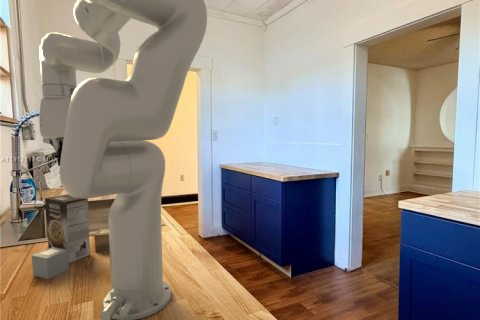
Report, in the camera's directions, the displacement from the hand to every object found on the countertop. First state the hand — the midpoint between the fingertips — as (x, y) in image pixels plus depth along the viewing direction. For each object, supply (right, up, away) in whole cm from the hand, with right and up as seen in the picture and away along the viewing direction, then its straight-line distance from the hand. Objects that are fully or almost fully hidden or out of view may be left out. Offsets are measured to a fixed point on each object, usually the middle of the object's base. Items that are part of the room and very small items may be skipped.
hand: (65, 165), depth 73 cm
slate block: (+1, -26, -6) cm, 26 cm away
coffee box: (0, -25, +3) cm, 25 cm away
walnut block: (+7, -24, +8) cm, 26 cm away
